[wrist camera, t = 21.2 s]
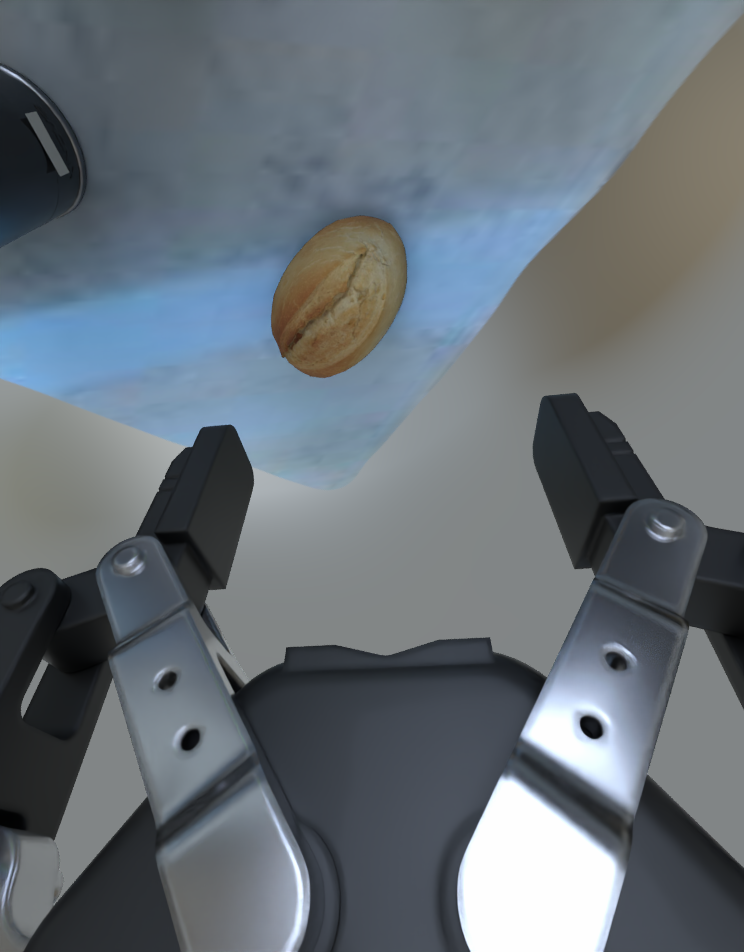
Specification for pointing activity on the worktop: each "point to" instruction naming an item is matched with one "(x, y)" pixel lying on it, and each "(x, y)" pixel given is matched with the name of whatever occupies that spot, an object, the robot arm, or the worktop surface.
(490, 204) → the worktop surface
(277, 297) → the bread roll
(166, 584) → the robot arm
